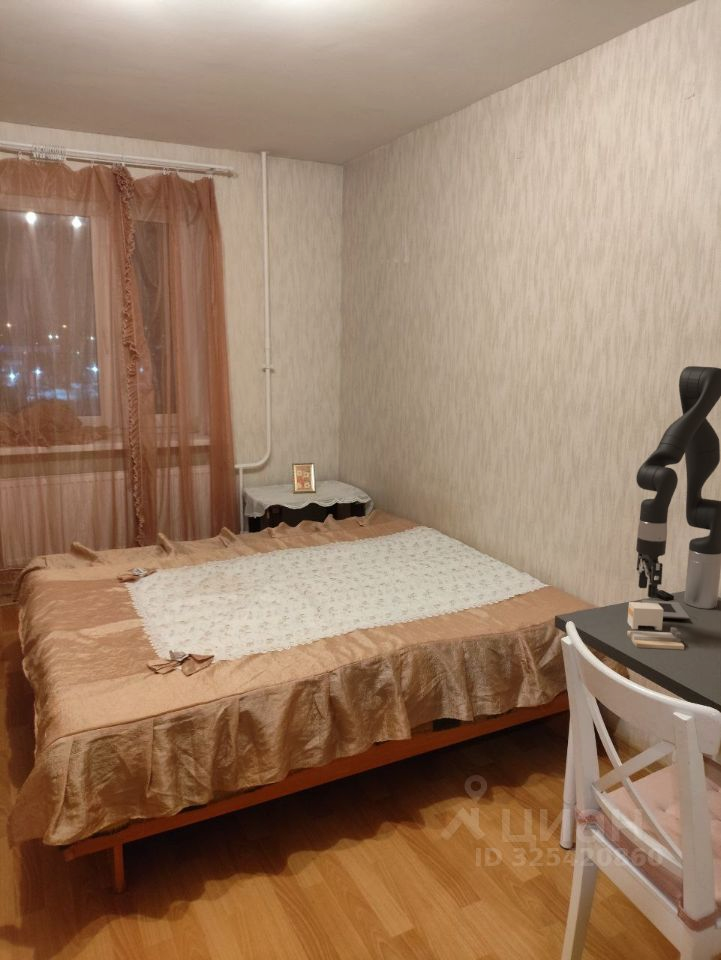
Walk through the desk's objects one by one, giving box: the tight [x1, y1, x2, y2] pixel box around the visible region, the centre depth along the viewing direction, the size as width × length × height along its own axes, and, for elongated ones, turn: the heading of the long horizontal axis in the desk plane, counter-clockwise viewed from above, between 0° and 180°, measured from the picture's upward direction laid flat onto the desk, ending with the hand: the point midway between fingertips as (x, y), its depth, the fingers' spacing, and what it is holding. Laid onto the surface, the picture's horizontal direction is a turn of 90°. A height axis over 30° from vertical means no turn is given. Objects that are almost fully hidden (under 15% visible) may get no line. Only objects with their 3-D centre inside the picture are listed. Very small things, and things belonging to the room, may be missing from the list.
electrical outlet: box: [641, 599, 690, 621], centre depth 203 cm, size 13×10×2 cm
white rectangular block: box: [627, 601, 664, 631], centre depth 193 cm, size 8×5×6 cm, turn 84°
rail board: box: [626, 626, 685, 651], centre depth 182 cm, size 9×12×3 cm
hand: (647, 592), depth 191 cm, fingers open, 8 cm apart
